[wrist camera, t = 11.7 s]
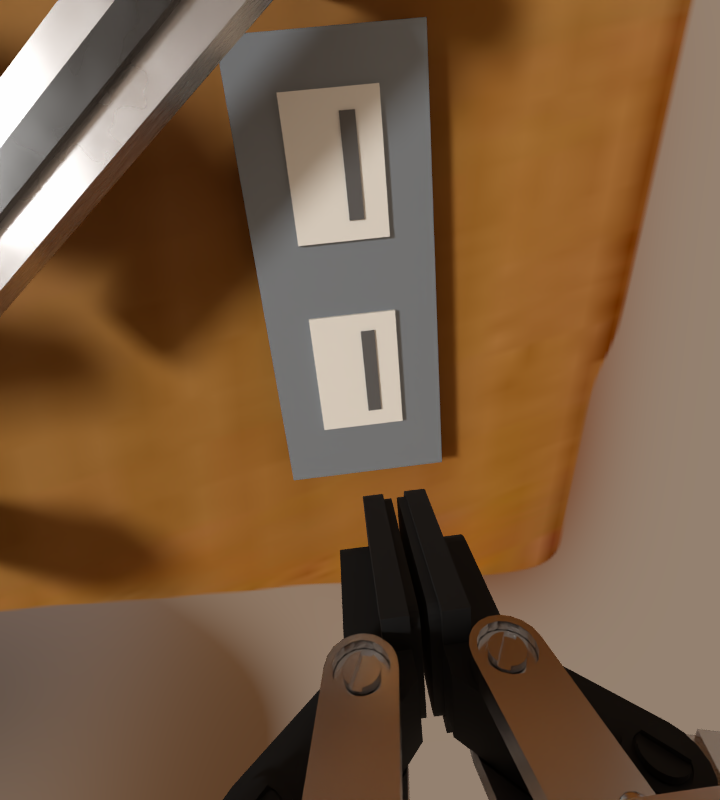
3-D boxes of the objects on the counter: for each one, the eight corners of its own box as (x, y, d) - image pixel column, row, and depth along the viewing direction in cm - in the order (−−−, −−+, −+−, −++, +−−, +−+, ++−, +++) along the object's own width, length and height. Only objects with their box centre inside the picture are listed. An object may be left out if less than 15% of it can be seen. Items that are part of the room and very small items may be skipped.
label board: (202, -62, 20) (153, -181, 14) (415, -80, 20) (450, -203, 14) (295, 468, 30) (288, 522, 24) (436, 451, 30) (461, 499, 25)
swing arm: (304, -264, 14) (300, -359, 11) (385, -131, 15) (395, -194, 13) (-126, 293, 18) (-186, 301, 16) (-38, 359, 20) (-82, 374, 17)
